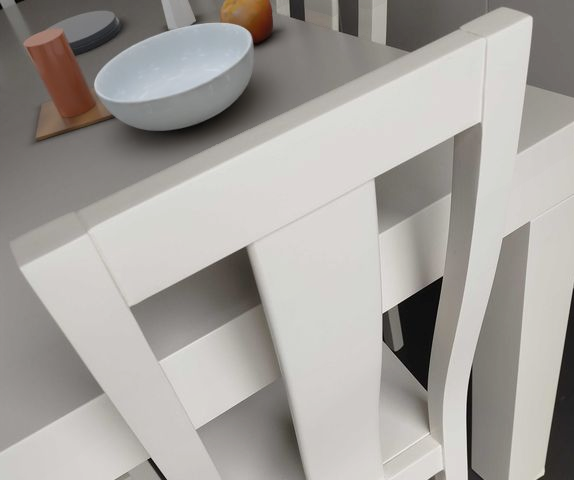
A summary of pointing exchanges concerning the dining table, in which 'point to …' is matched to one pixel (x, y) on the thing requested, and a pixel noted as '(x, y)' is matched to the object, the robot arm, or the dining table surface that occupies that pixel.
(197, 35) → the serving bowl
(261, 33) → the fruit
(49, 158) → the dining table surface
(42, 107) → the square wooden coaster
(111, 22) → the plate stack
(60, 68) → the tumbler
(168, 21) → the salt shaker
